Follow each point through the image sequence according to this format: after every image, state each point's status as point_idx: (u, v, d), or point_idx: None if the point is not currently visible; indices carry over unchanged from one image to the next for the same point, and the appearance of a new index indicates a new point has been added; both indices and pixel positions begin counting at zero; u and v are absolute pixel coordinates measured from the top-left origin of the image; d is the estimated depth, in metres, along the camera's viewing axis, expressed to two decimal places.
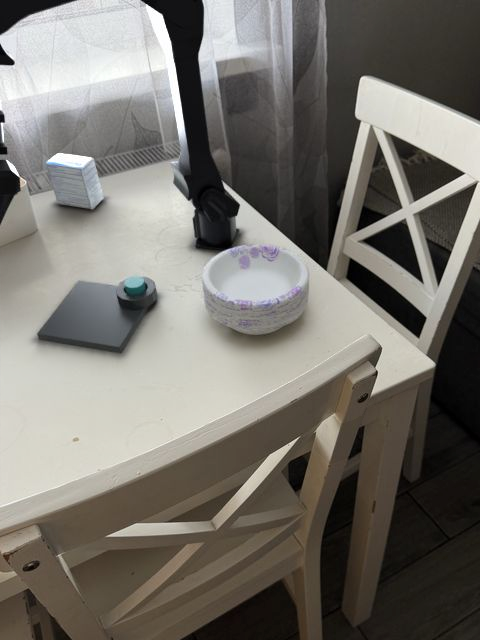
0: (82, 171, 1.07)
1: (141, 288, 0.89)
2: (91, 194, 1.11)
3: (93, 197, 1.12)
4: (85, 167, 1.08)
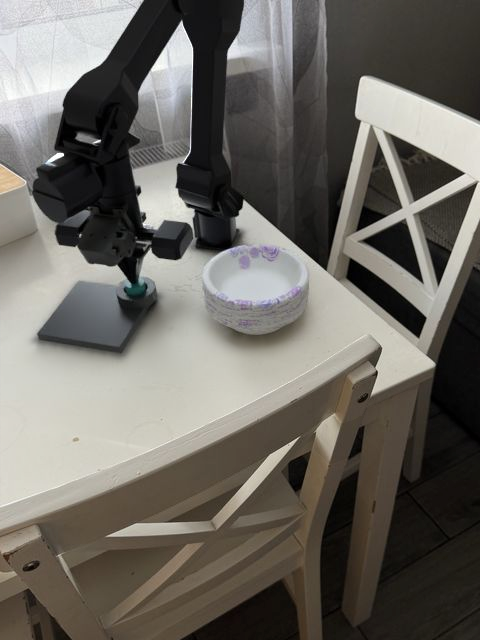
0: None
1: (141, 289, 0.89)
2: None
3: None
4: None
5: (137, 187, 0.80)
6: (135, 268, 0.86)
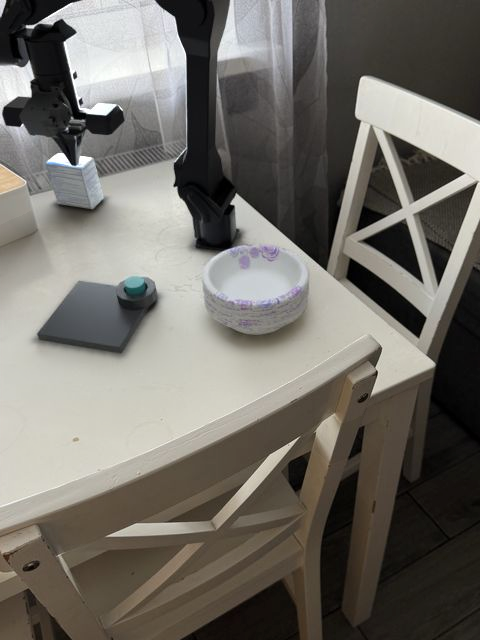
0: (82, 171, 1.07)
1: (141, 288, 0.89)
2: (91, 194, 1.11)
3: (93, 197, 1.12)
4: (85, 167, 1.08)
5: (73, 71, 0.93)
6: (74, 148, 0.98)
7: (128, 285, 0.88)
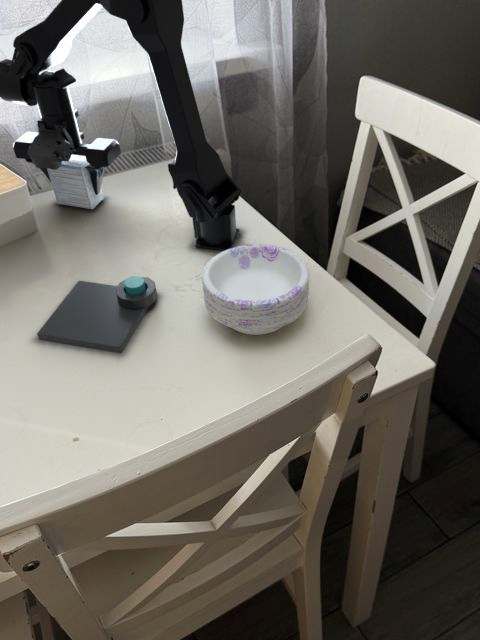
0: (82, 171, 1.07)
1: (141, 288, 0.89)
2: (91, 194, 1.11)
3: (93, 197, 1.12)
4: None
5: (75, 111, 1.05)
6: (96, 180, 1.09)
7: (128, 285, 0.88)
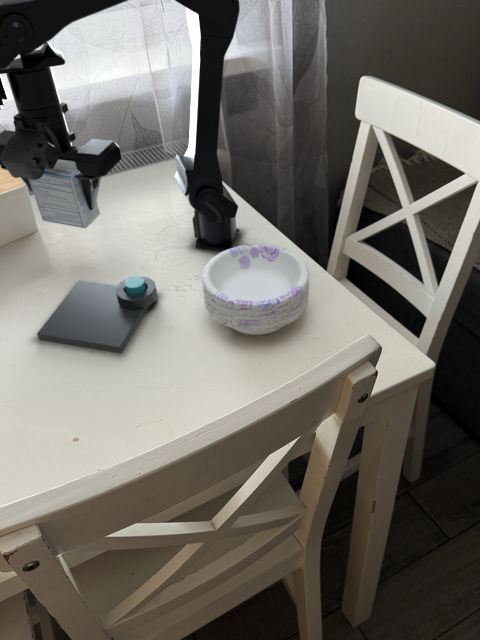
0: (72, 181, 0.84)
1: (141, 288, 0.89)
2: (84, 210, 0.88)
3: (87, 213, 0.89)
4: None
5: (63, 104, 0.82)
6: (90, 192, 0.86)
7: (128, 285, 0.88)
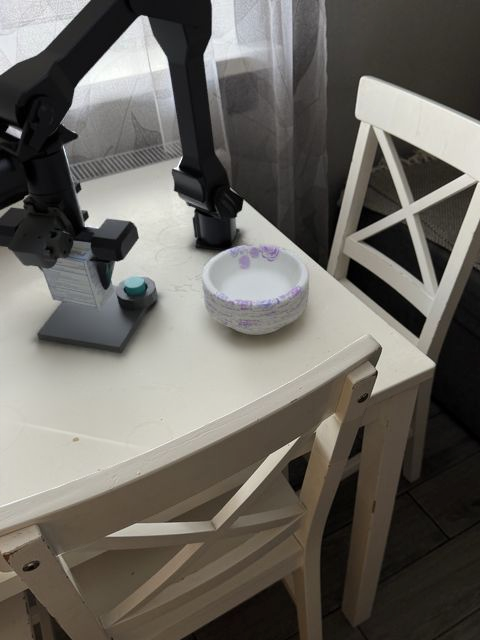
0: (86, 264, 0.78)
1: (141, 288, 0.89)
2: (99, 291, 0.82)
3: (101, 293, 0.83)
4: (90, 258, 0.79)
5: (76, 184, 0.76)
6: (105, 273, 0.80)
7: (128, 285, 0.88)
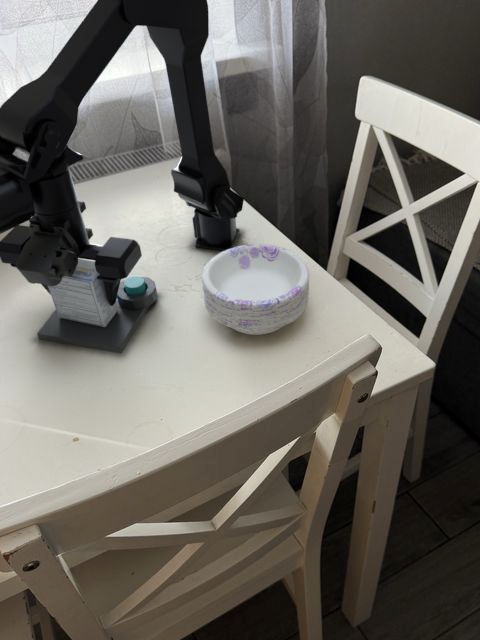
0: (92, 285, 0.81)
1: (141, 288, 0.89)
2: (104, 309, 0.85)
3: (106, 312, 0.85)
4: (96, 278, 0.81)
5: (81, 203, 0.77)
6: (111, 290, 0.82)
7: (128, 285, 0.88)
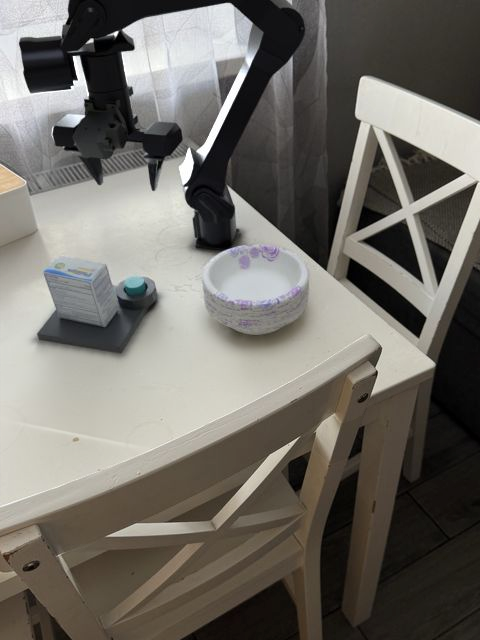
0: (92, 285, 0.81)
1: (141, 288, 0.89)
2: (104, 309, 0.85)
3: (106, 312, 0.85)
4: (96, 278, 0.81)
5: (129, 87, 0.85)
6: (154, 173, 0.90)
7: (128, 285, 0.88)
